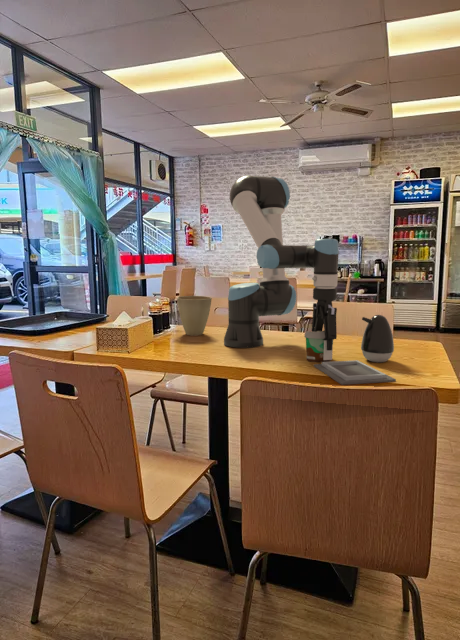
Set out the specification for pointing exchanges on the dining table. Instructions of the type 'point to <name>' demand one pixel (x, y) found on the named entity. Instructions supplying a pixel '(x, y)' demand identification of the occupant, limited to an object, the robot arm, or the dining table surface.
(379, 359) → the pump dispenser
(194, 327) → the plant pot
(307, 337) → the food container
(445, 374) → the dining table surface
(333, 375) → the mat
